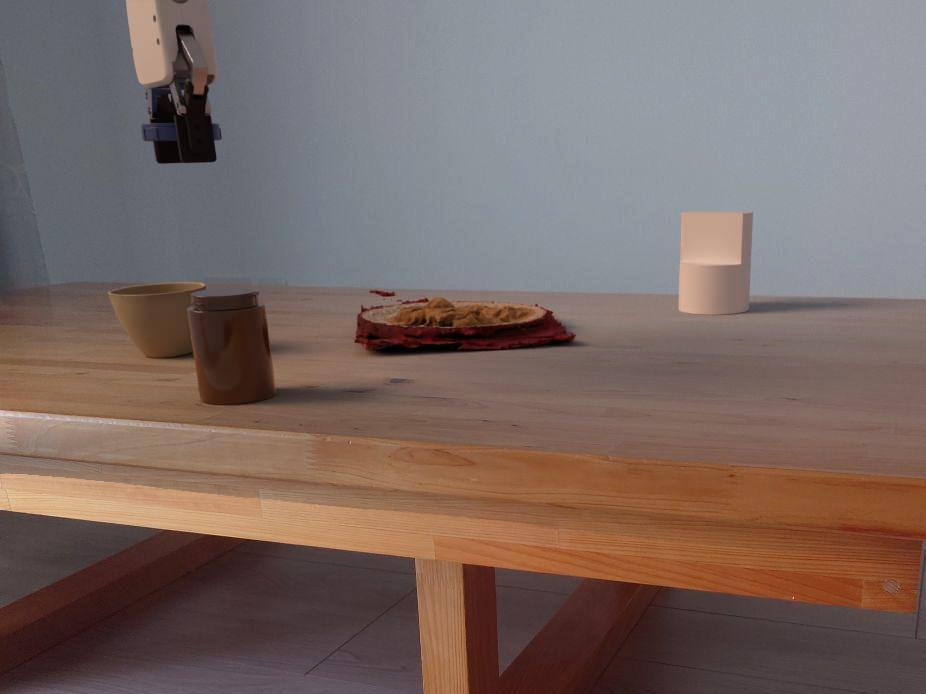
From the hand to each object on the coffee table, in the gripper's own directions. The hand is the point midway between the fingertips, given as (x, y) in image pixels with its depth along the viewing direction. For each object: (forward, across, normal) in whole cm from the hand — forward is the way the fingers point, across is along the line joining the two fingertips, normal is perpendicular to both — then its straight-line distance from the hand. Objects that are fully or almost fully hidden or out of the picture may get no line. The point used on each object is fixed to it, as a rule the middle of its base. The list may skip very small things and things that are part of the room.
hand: (185, 161), depth 95 cm
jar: (+20, -14, +2) cm, 24 cm away
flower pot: (+20, +13, +1) cm, 24 cm away
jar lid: (-3, 0, 0) cm, 3 cm away
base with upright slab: (+20, -7, -63) cm, 67 cm away
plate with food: (+20, +2, -30) cm, 36 cm away
